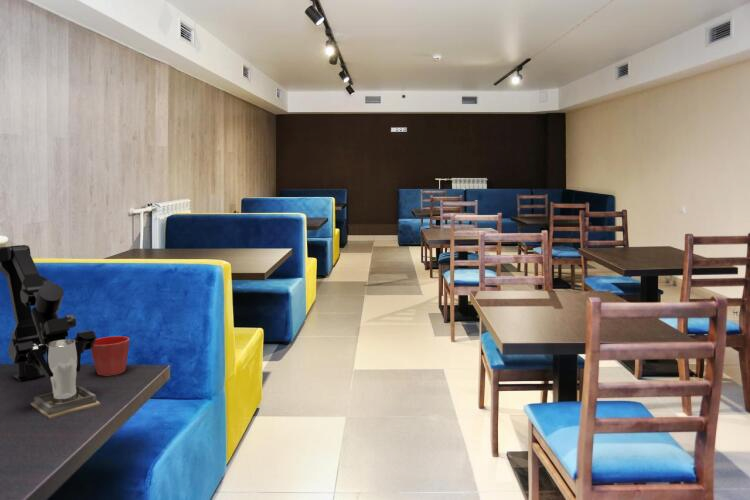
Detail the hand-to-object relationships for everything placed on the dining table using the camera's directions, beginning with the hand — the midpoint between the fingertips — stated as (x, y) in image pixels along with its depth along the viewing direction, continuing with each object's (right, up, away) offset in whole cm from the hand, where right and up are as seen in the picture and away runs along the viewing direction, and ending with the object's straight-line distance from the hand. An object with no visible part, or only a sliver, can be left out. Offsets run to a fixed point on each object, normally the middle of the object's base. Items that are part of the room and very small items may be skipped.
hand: (64, 374), depth 150 cm
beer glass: (-1, -7, +2) cm, 7 cm away
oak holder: (-1, -8, +2) cm, 8 cm away
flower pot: (0, -5, +28) cm, 28 cm away
